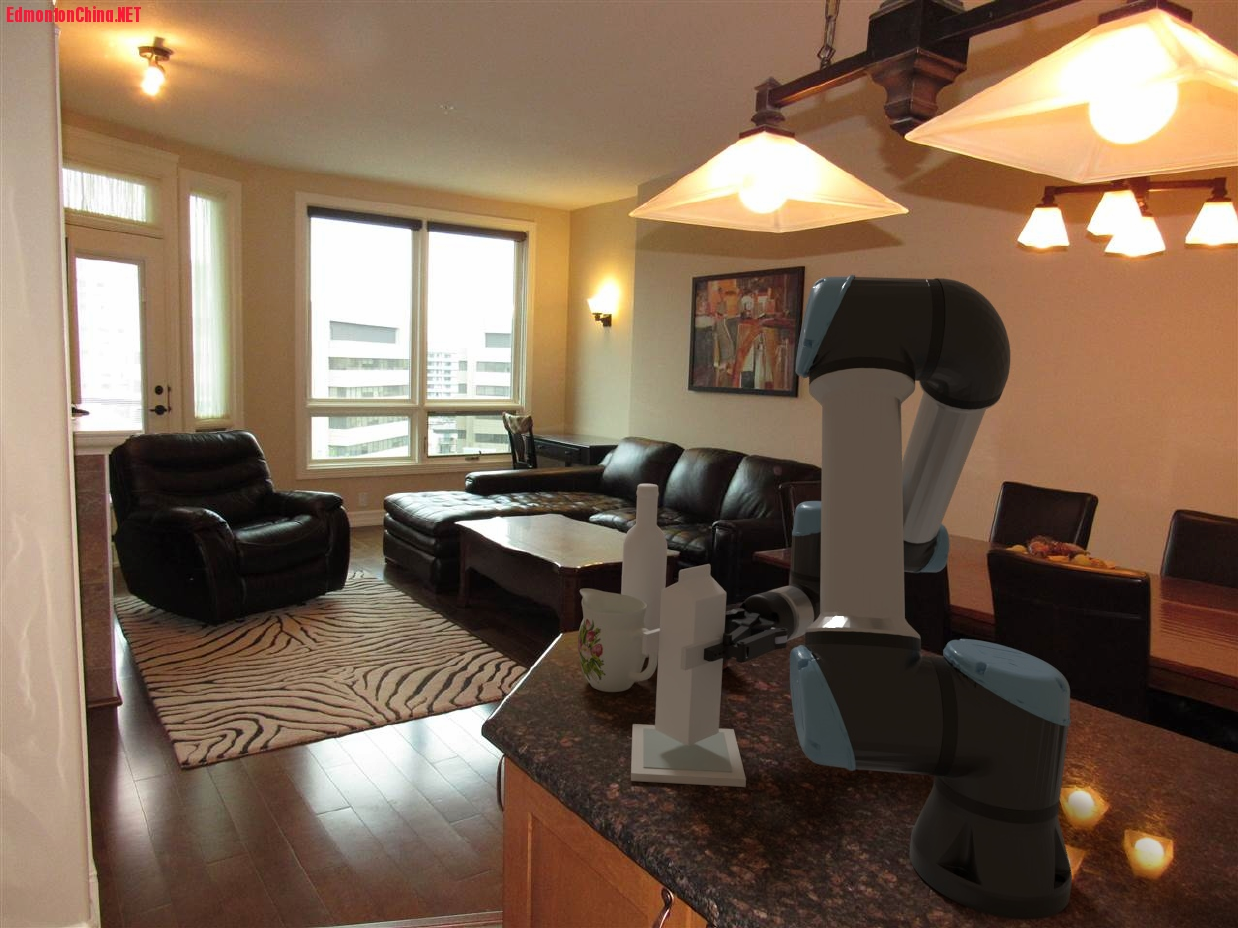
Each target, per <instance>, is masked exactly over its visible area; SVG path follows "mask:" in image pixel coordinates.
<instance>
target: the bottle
mask: <svg viewBox="0 0 1238 928" xmlns="http://www.w3.org/2000/svg"><path fill="white" fill-rule="evenodd" d="M635 494H636V496H637V497H636V515H635V516H636V517H635V518H636V519H635V524H634V525H633V526H632V527H631V528H629V529H628V531H627V532H626V535H625V537H624V539H623V545H622V546H623V547H622V566H621V567H622V568H621V588H620V589H621V591H620V594H623V595H627V596H631V597H634V598H637V599H640V600H642V601H644V602H645V603H646V604H647V608H646V612H645V616H644V624H645V628H646V629H648V630H649V631H651V630H655V629H659V628H660V610H661V590H662V589H664V588H666V582H667V581H666V580H667V562H668V561H667V559H668V542H667V538H666V535H665V532H664V531H663V530H662V529H661V528H660V527H659V526H658V524H657V523H658V504H659V503H658V500H659V499H658V498H659V496H660V492H659V485H657V484H655V483H654V484H653V483H639V484H638V485H637V490H636V493H635ZM658 652H659V651H658ZM646 658H648V659H649V654H648V655H646V657H645V659H646Z"/></svg>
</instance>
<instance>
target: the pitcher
mask: <svg viewBox="0 0 1238 928" xmlns="http://www.w3.org/2000/svg"><path fill="white" fill-rule="evenodd" d="M579 593H580V595H581V597H582V599H581V607H582V614H583V619H582V621H581V623H580V627H579V630H578V638H577V651H578V658H579V663H580V667H581V670H582V673H583V675H584V677H585V679H586V680H587V682H589V685H590V686H591V687H592V688H593V689H596V690H598V691H600V692H606V693H618V692H620V693H621V692H625V691H627V690H629V689H630V688H631V687H632V686H633V685H634V683H636V682H644V681H647V680H648V679H650V678H651V677H652V676H653V675H654V674H655V671H656V669H657V667H658V651H657V652H654V653H651V654H649V658H648V662H647V666H646V668H644V670H643V667H644V663H645V660H646V658H645V657H646V655H645V654H642V640H643V633H644V632H648V631H649V630H648V629H646V628H645V624H644V616H645V612H646V608H647V604H646V603H645V602H644V601H642V600H640V599H637V598H634V597H631V596H627V595H623V594H621V593H616V592H608V591H603V590H600V589H596V588H588V587H587V588H580V590H579ZM642 670H643V671H642Z"/></svg>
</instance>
